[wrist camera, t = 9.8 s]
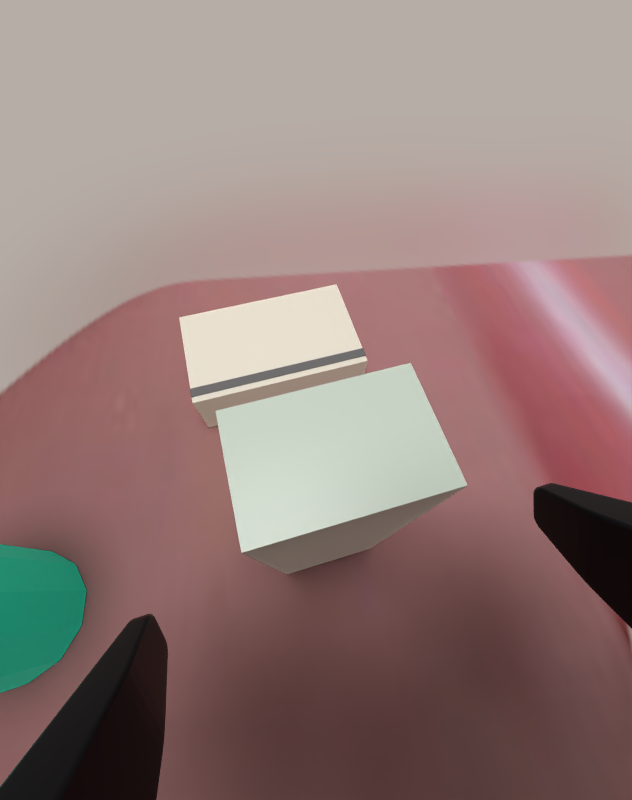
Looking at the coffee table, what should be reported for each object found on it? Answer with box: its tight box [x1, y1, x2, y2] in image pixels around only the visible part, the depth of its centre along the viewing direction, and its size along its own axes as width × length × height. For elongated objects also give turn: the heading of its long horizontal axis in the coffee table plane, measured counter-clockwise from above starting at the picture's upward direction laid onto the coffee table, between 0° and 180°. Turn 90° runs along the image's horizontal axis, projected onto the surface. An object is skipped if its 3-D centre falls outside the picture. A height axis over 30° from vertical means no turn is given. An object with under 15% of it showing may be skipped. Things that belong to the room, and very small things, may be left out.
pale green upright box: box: [216, 363, 467, 574], centre depth 14 cm, size 3×5×14 cm, turn 106°
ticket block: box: [180, 285, 367, 427], centre depth 24 cm, size 6×10×4 cm, turn 106°
